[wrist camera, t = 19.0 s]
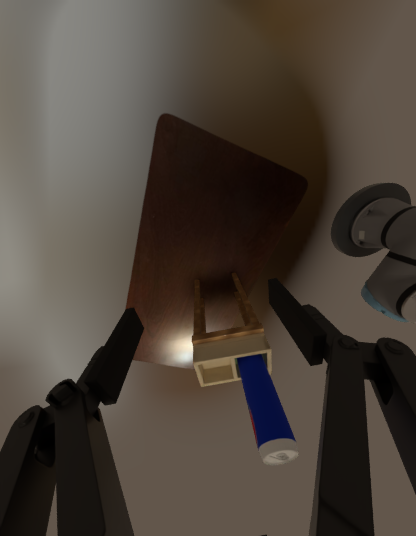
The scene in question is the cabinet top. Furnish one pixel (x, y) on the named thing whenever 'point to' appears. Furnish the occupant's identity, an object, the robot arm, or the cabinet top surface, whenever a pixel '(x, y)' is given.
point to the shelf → (250, 328)
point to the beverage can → (266, 412)
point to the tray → (227, 357)
